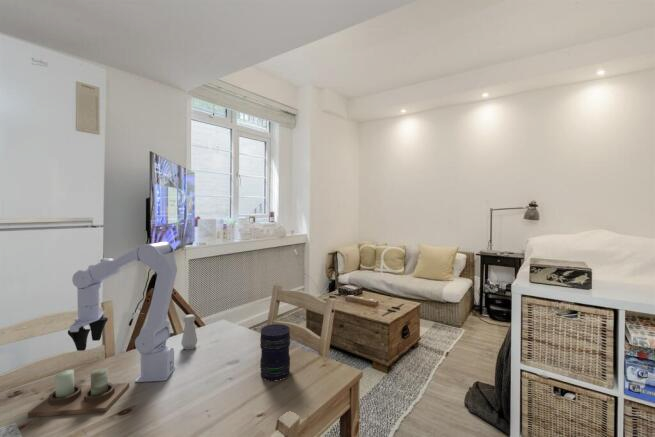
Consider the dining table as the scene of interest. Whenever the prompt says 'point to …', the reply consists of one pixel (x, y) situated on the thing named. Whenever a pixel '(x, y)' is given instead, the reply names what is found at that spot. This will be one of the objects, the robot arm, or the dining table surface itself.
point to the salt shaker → (189, 333)
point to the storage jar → (275, 352)
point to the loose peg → (64, 383)
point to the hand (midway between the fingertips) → (89, 345)
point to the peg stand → (83, 397)
